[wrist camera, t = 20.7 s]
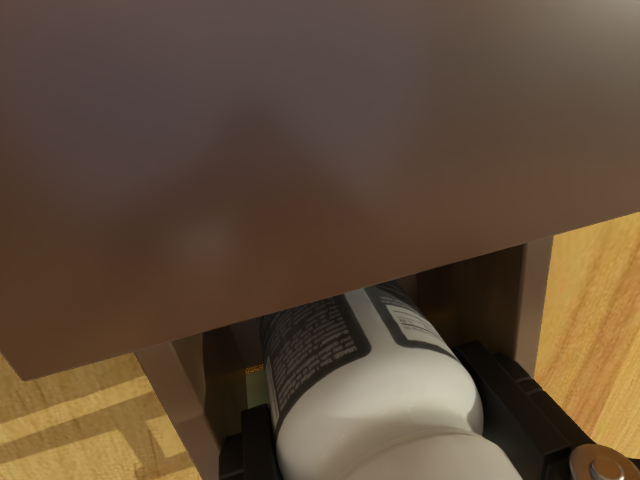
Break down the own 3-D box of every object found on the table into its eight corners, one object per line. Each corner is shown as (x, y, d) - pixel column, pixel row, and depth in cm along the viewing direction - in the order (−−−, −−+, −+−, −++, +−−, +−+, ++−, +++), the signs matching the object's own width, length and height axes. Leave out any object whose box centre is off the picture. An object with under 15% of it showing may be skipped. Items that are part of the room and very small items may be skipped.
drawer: (438, 395, 23) (529, 541, 16) (252, 455, 22) (265, 643, 15) (427, 1, 13) (640, -52, 7) (90, 63, 12) (-86, 79, 5)
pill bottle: (271, 360, 17) (321, 675, 8) (238, 251, 14) (261, 547, 6) (390, 325, 18) (549, 584, 9) (379, 215, 15) (588, 433, 6)
